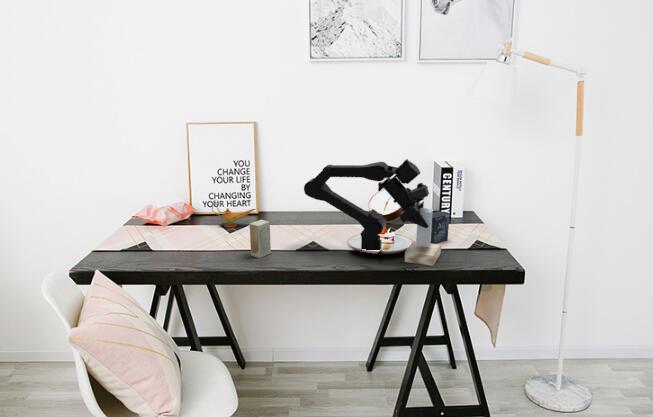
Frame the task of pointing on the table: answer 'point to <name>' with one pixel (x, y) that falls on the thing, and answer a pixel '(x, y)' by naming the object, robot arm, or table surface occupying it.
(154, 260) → the table surface
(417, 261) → the wooden block
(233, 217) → the magic lamp
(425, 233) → the tall block
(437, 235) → the box
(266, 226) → the skincare box
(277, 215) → the table surface
